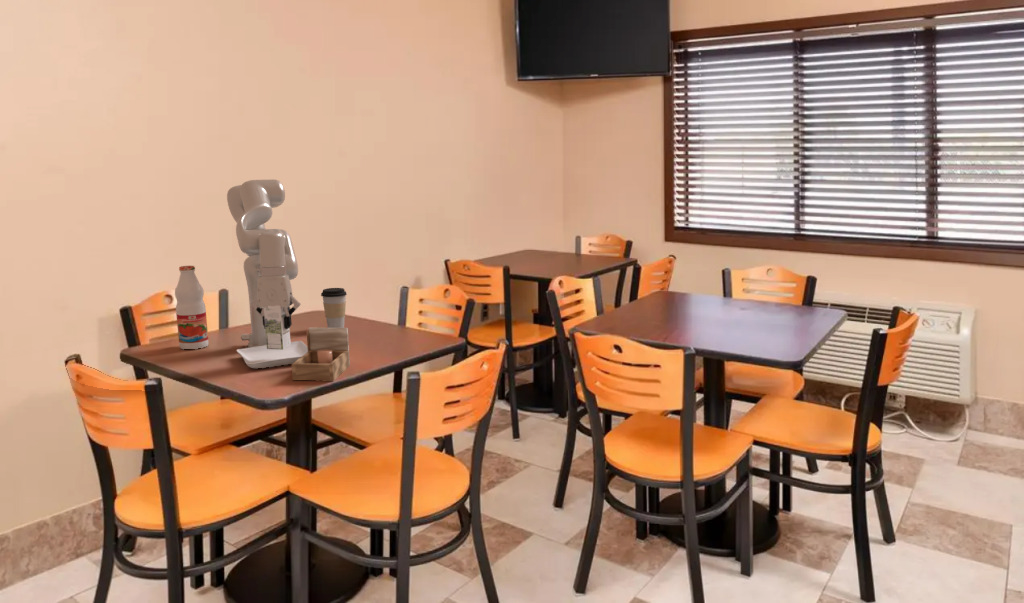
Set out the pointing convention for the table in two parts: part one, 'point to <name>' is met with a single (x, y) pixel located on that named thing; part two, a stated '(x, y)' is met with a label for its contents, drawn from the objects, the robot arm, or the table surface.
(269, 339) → the syrup box
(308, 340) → the wooden box
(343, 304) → the coffee cup
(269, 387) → the table surface
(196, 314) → the fruit juice
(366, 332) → the table surface
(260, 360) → the salad plate
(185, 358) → the table surface
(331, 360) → the tan rounded lump
